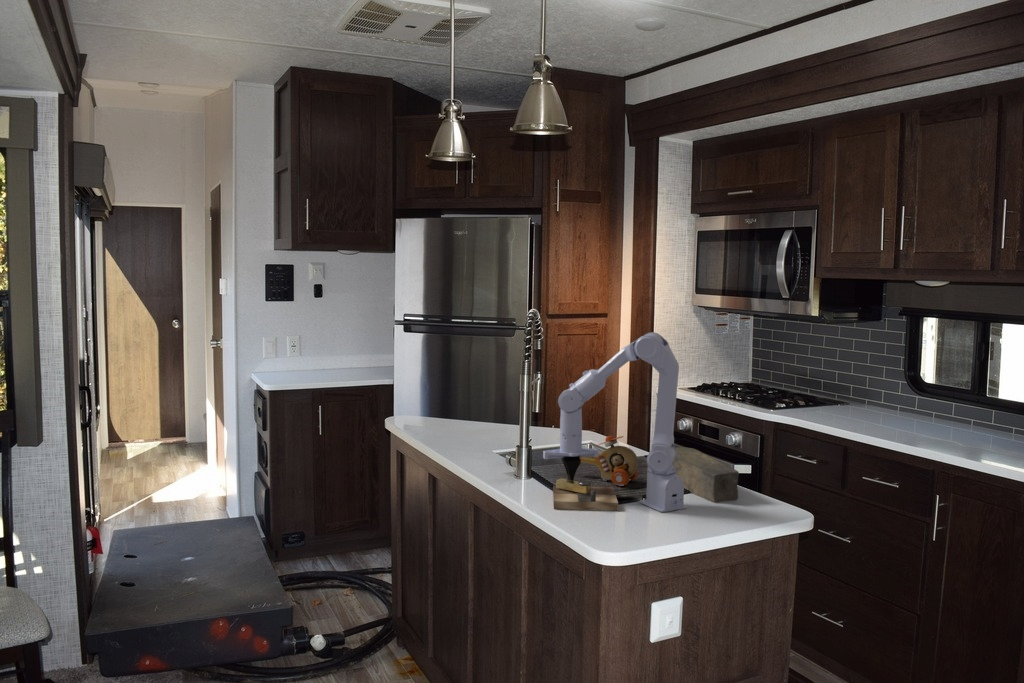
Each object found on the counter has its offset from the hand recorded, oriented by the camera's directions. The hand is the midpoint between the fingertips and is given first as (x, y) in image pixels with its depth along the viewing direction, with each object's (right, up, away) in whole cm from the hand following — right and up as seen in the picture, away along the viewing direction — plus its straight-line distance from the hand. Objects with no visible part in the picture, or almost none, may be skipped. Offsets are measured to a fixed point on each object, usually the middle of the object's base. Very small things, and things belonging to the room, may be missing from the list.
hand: (570, 484), depth 219 cm
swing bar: (+1, -1, -3) cm, 4 cm away
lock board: (+3, -4, -5) cm, 7 cm away
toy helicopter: (+11, -2, +15) cm, 18 cm away
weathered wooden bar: (+36, -3, +8) cm, 37 cm away
